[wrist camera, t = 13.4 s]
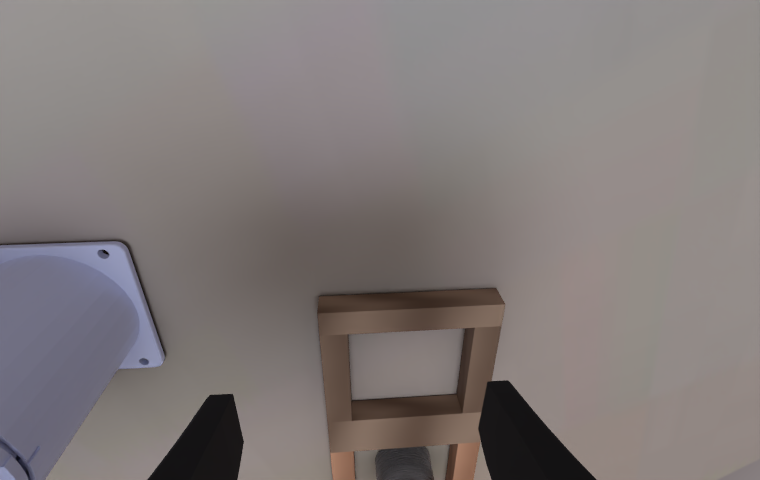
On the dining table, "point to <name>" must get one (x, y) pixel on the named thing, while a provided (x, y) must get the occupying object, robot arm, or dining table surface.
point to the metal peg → (404, 464)
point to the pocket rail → (412, 414)
